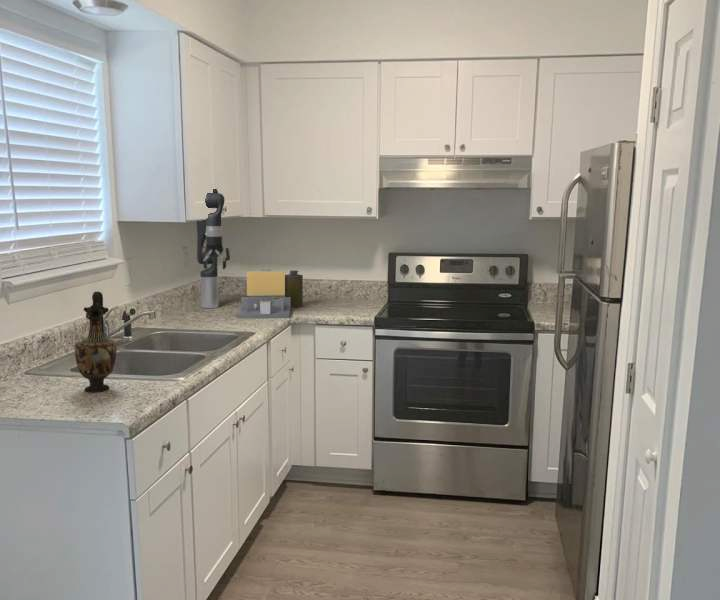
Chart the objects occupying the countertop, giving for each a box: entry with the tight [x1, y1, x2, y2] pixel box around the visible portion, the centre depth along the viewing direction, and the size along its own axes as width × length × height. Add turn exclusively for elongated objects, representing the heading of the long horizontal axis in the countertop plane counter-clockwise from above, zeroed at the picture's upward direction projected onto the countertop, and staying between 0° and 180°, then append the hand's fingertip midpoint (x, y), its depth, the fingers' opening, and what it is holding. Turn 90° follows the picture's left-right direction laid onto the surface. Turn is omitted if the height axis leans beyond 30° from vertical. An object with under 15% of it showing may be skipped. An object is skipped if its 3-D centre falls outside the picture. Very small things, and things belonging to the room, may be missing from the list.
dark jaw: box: [271, 298, 281, 311], centre depth 319 cm, size 5×5×6 cm
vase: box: [74, 291, 118, 393], centre depth 186 cm, size 12×12×30 cm
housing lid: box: [246, 269, 286, 297], centre depth 324 cm, size 14×20×1 cm
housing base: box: [236, 296, 292, 319], centre depth 316 cm, size 20×26×9 cm
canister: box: [284, 270, 304, 308], centre depth 343 cm, size 11×10×20 cm
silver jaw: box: [260, 301, 271, 314], centre depth 309 cm, size 5×5×6 cm
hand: (214, 269), depth 294 cm, fingers open, 8 cm apart
